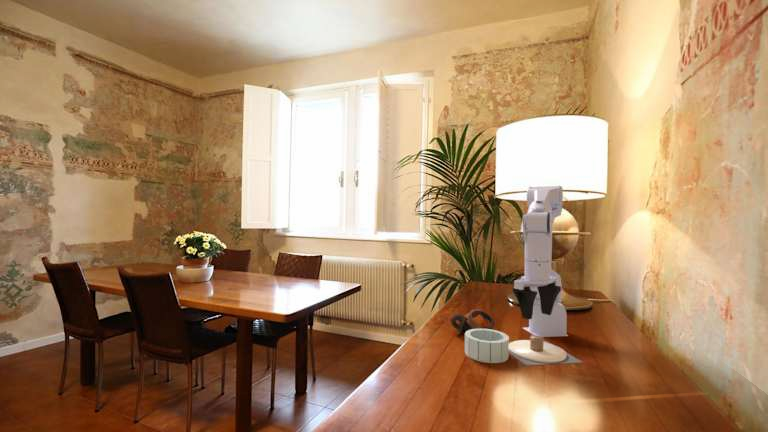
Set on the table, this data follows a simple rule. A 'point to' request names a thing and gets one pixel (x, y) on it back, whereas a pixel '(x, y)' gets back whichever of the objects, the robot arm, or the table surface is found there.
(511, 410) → the table surface
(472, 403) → the table surface
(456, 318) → the dark brown rounded loops
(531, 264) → the robot arm
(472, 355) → the bowl
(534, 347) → the lid
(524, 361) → the mat
